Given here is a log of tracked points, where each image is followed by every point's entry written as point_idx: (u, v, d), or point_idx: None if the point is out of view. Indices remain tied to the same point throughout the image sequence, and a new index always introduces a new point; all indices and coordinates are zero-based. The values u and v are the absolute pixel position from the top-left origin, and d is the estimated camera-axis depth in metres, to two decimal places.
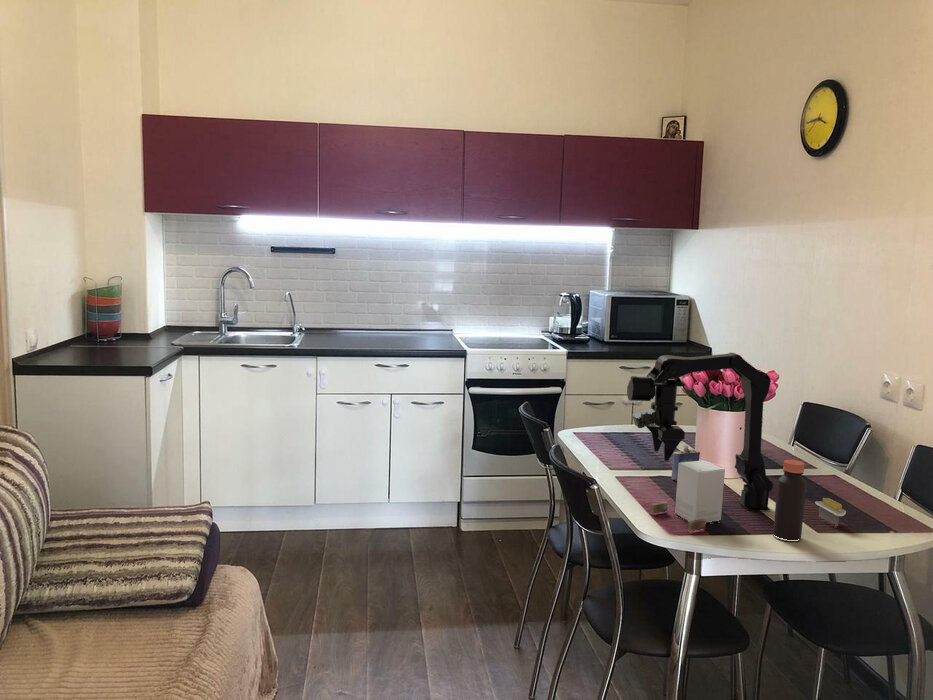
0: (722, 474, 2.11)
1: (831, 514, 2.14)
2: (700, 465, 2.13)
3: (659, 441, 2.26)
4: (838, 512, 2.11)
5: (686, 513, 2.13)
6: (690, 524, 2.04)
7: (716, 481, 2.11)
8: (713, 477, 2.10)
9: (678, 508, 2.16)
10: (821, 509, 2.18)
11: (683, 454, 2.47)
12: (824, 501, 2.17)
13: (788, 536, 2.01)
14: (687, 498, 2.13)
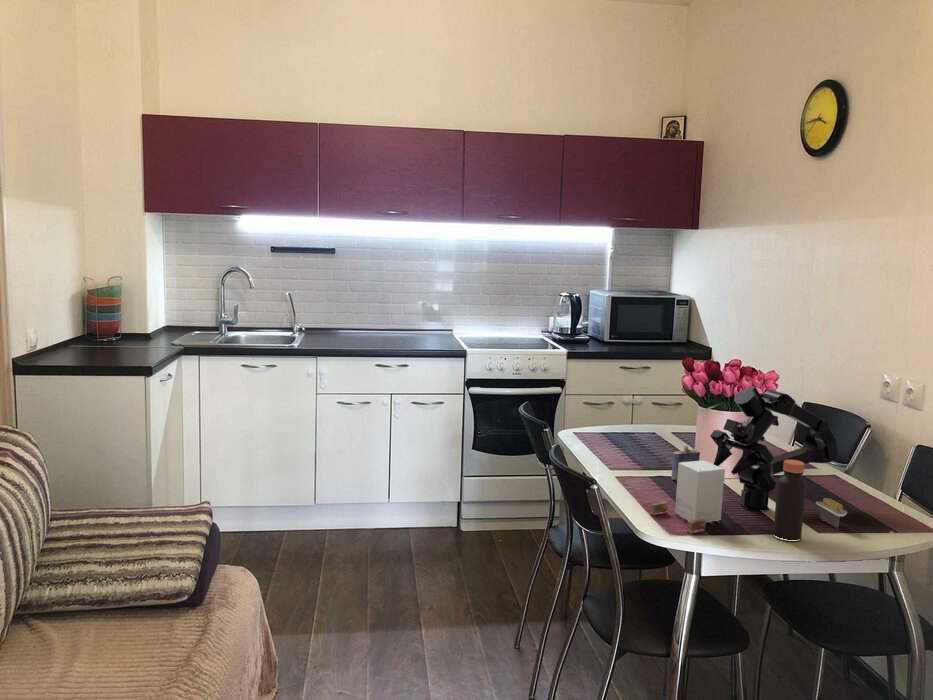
0: (722, 474, 2.11)
1: (832, 514, 2.14)
2: (700, 465, 2.13)
3: (721, 460, 2.22)
4: (839, 512, 2.11)
5: (686, 513, 2.13)
6: (690, 524, 2.04)
7: (716, 481, 2.11)
8: (713, 477, 2.10)
9: (678, 508, 2.16)
10: (822, 509, 2.18)
11: (683, 454, 2.47)
12: (825, 501, 2.17)
13: (788, 536, 2.01)
14: (687, 498, 2.13)
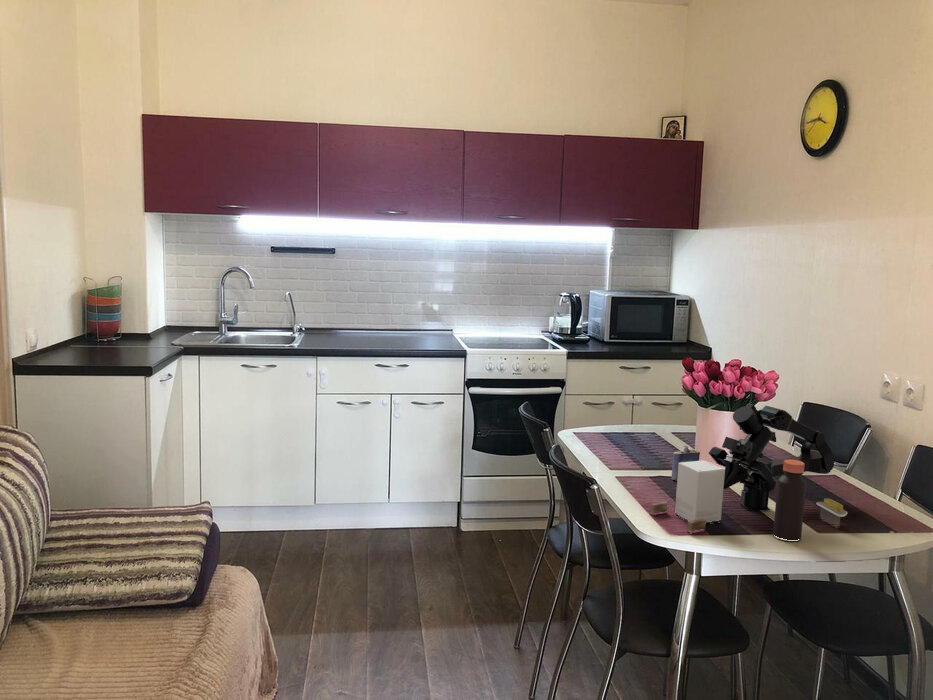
0: (722, 474, 2.11)
1: (832, 515, 2.13)
2: (700, 465, 2.13)
3: None
4: (839, 512, 2.11)
5: (686, 513, 2.13)
6: (690, 524, 2.04)
7: (716, 481, 2.11)
8: (713, 477, 2.10)
9: (678, 508, 2.16)
10: (822, 510, 2.17)
11: (683, 454, 2.47)
12: (825, 502, 2.16)
13: (788, 536, 2.01)
14: (687, 498, 2.13)
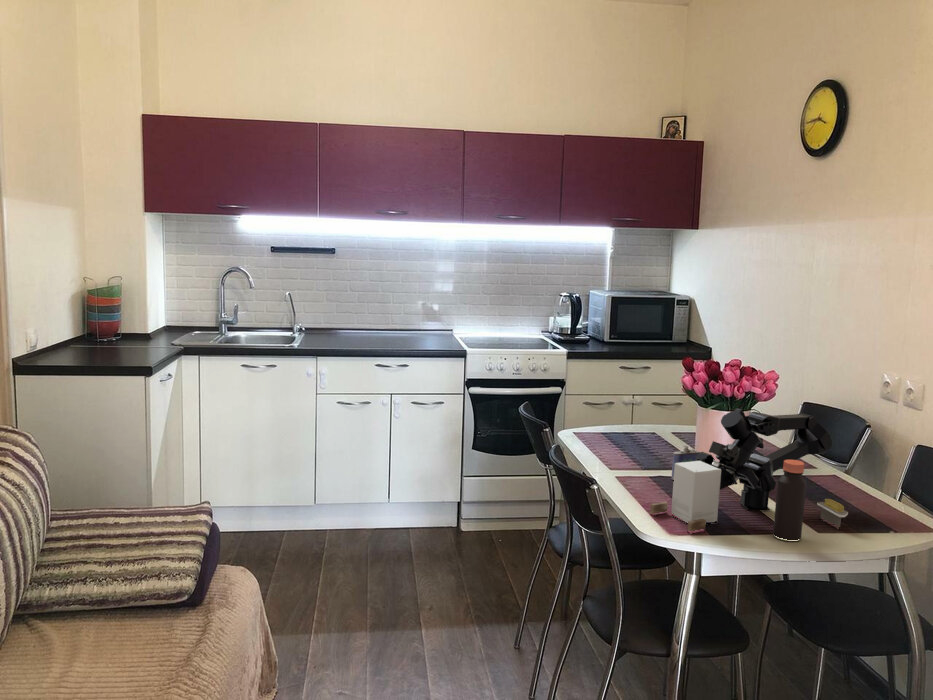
0: (718, 475, 2.11)
1: (833, 515, 2.13)
2: (696, 466, 2.13)
3: None
4: (840, 513, 2.11)
5: (683, 513, 2.12)
6: (690, 524, 2.04)
7: (713, 482, 2.10)
8: (709, 478, 2.09)
9: (674, 509, 2.16)
10: (823, 510, 2.17)
11: (683, 454, 2.47)
12: (826, 502, 2.16)
13: (788, 536, 2.01)
14: (683, 499, 2.12)
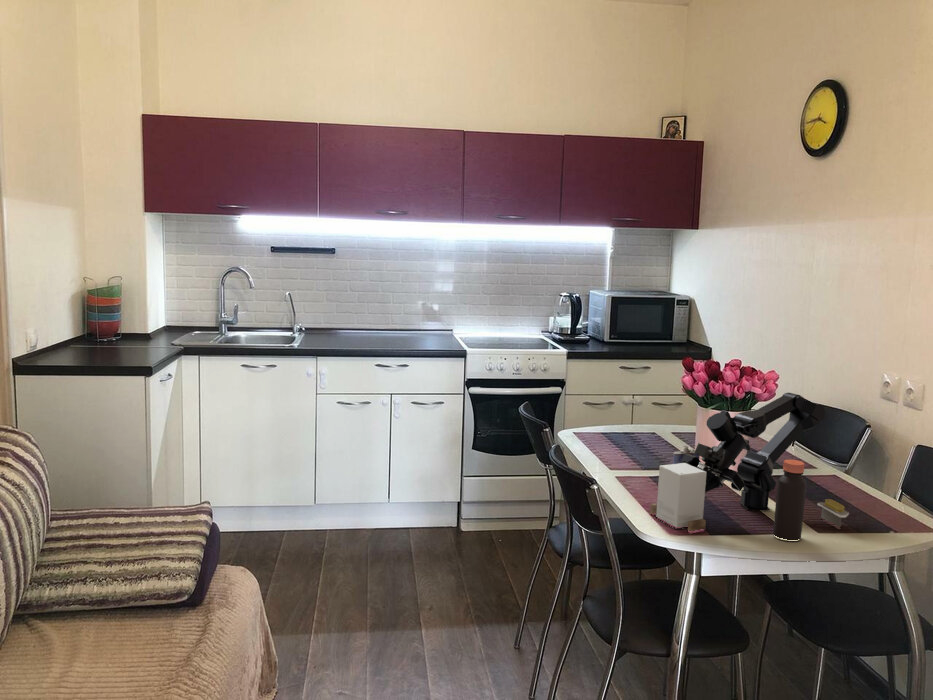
0: (703, 477, 2.08)
1: (833, 515, 2.13)
2: (681, 468, 2.10)
3: None
4: (840, 513, 2.10)
5: (668, 516, 2.10)
6: (690, 524, 2.04)
7: (698, 484, 2.08)
8: (694, 480, 2.07)
9: (659, 512, 2.13)
10: (823, 510, 2.17)
11: (683, 454, 2.47)
12: (826, 502, 2.16)
13: (788, 536, 2.01)
14: (668, 501, 2.09)
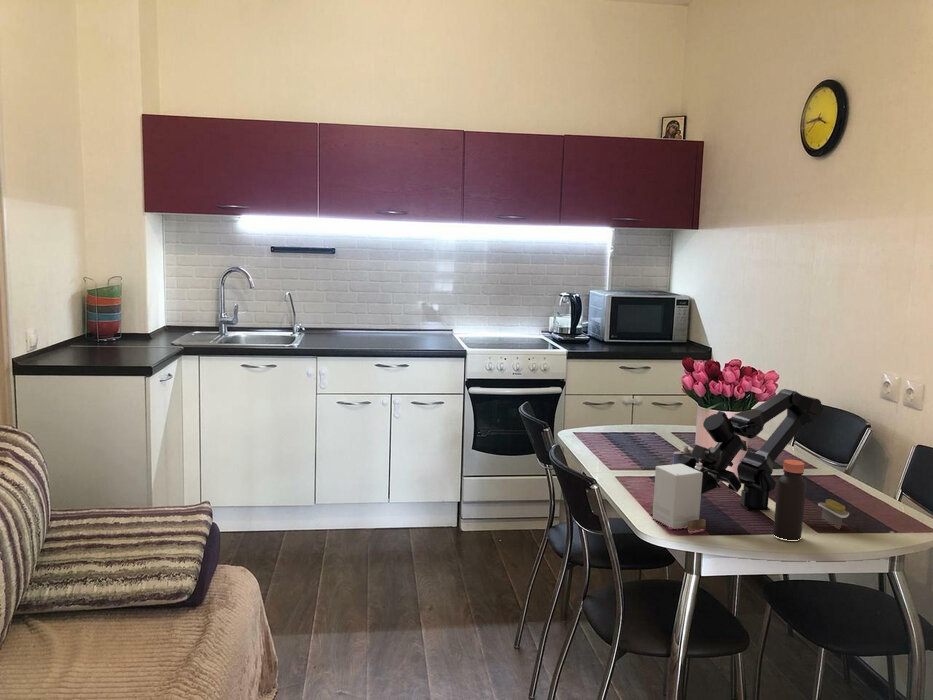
0: (699, 478, 2.07)
1: (834, 516, 2.13)
2: (677, 469, 2.10)
3: None
4: (841, 513, 2.10)
5: (664, 517, 2.09)
6: (690, 524, 2.04)
7: (694, 485, 2.07)
8: (690, 481, 2.06)
9: (655, 512, 2.12)
10: (824, 511, 2.17)
11: (683, 454, 2.47)
12: (827, 502, 2.16)
13: (788, 536, 2.01)
14: (664, 502, 2.09)
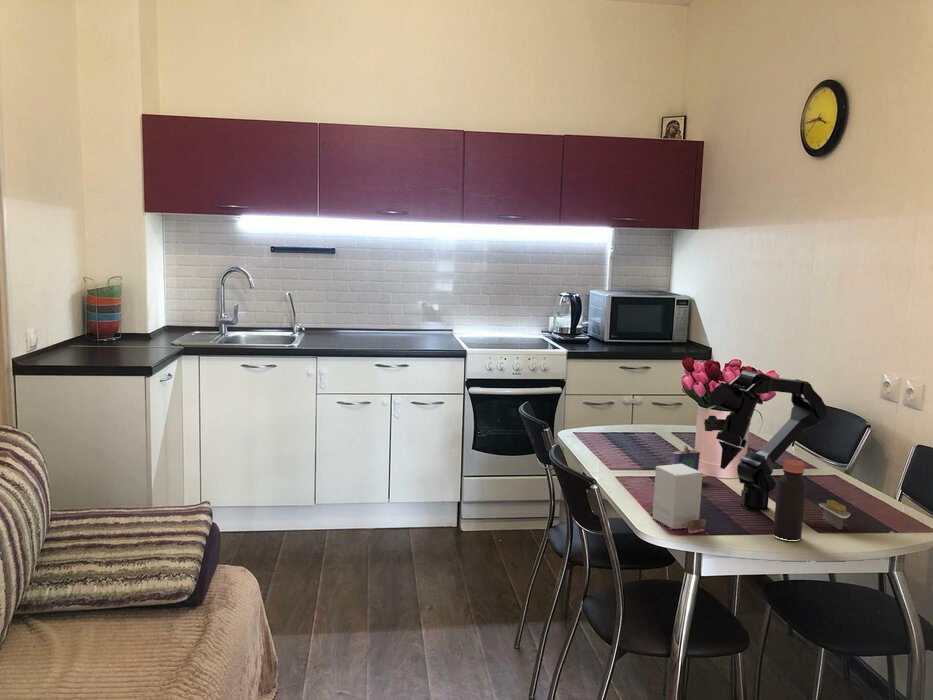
0: (699, 478, 2.07)
1: (835, 516, 2.12)
2: (677, 469, 2.10)
3: None
4: (842, 514, 2.10)
5: (664, 517, 2.09)
6: (690, 524, 2.04)
7: (694, 485, 2.07)
8: (690, 481, 2.06)
9: (655, 512, 2.12)
10: (825, 511, 2.16)
11: (683, 454, 2.47)
12: (828, 503, 2.15)
13: (788, 536, 2.01)
14: (664, 502, 2.09)
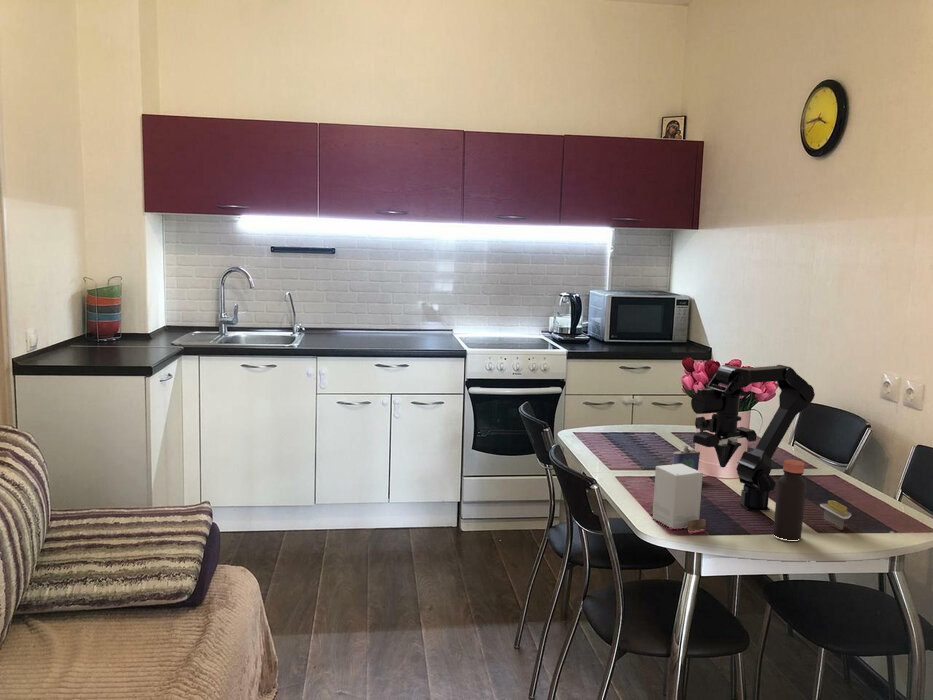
0: (699, 478, 2.07)
1: (836, 517, 2.12)
2: (677, 469, 2.10)
3: None
4: (843, 514, 2.09)
5: (664, 517, 2.09)
6: (690, 524, 2.04)
7: (694, 485, 2.07)
8: (690, 481, 2.06)
9: (655, 512, 2.12)
10: (826, 512, 2.16)
11: (683, 454, 2.47)
12: (829, 503, 2.15)
13: (788, 536, 2.01)
14: (664, 502, 2.09)
